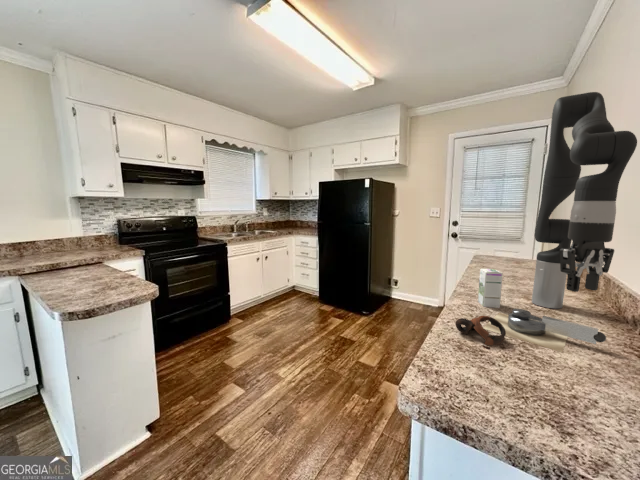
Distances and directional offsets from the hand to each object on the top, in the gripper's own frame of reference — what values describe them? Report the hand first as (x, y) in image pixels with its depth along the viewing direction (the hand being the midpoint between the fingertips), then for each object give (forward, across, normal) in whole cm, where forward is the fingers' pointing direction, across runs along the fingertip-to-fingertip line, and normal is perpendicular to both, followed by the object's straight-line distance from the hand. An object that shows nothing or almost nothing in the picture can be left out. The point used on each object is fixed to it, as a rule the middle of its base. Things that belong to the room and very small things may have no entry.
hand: (581, 289), depth 66 cm
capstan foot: (+16, +3, +7) cm, 18 cm away
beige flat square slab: (+17, 0, +12) cm, 21 cm away
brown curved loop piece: (+18, -17, +12) cm, 27 cm away
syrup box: (+18, +6, +32) cm, 37 cm away
